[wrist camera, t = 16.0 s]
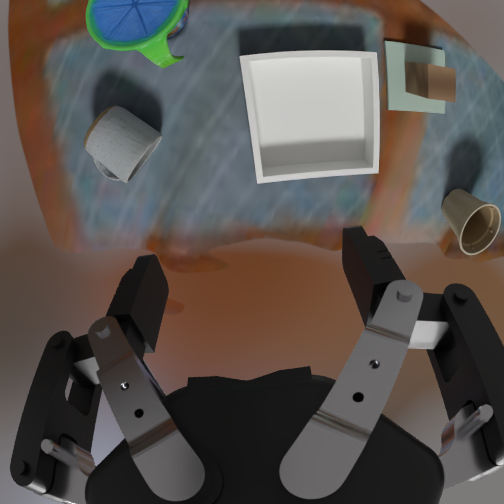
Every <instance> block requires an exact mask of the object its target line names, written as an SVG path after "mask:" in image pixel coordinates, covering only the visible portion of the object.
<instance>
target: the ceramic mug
mask: <svg viewBox="0 0 504 504" xmlns="http://www.w3.org/2000/svg"><path fill="white" fill-rule="evenodd" d="M161 139H162V134H161V133H159V132H158V131H156V130H155V129H154V128H152V127H151V126H149V125H148V124H146V123H145V122H144V121H142V120H141V119H139V118H138V117H136V116H135V115H133V114H132V113H130V112H129V111H128V110H126V109H124V108H122V107H120V106H116V105H115V106H111V107H109V108H107V109H105V110H104V111H103V112H102V113H101V114H100V115H99V116H98V117H97V118H96V119H95V121H94V122H93V123H92V125H91V126H90V128H89V130H88V132H87V134H86V137H85V140H84V146H85V149H86V150H87V151H88V152H89V154H90V155H91V156H93V157H94V162H95V164H96V166H97V168H98V169H99V170H100V172H101V173H102V174H104V175H105V176H106V177H107V178H109V179H112V180H122V181H123V182H125V183H128V182H129V181H130V180H131V179H132V178H133V177H134V175H135V174H136V173H137V172H138V171H139V169H140V168H141V167H142V166H143V164H144V163H145V162H146V161H147V159H148V158H149V156H150V155H151V154H152V153H153V151H154V150H155V148H156V147H157V145H158V144H159V142H160V141H161Z"/></svg>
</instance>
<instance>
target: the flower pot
mask: <svg viewBox="0 0 504 504" xmlns="http://www.w3.org/2000/svg"><path fill="white" fill-rule="evenodd" d="M442 214H443V216H444V218H445V219H446V220H447V222H448V223H449V225H450V226H451V228H452V229H453V231H454V232H455V234H456V235H457V238H458V241H459V244H460V248H461V250H462V251H463V252H464V253H465V254H467V255H475V254H477V253H480V252H482V251H483V250H484V249H486V248H487V247H488V246H489V245H490V244H491V243H492V241H493V240H494V238H495V237H496V235H497V233H498V231H499V228H500V223H501V214H500V211H499V209H498V207H497V206H496V205H494V204H491V203H487V202H483V201H481V200H479V199H478V198H476V197H474V196H473V195H471V194H469V193H468V192H466V191H464V190H462V189H454V190H452V191H451V192H450V194H449V195H448V196H447V197H445V199H444V201H443V204H442Z"/></svg>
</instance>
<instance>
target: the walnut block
mask: <svg viewBox="0 0 504 504" xmlns="http://www.w3.org/2000/svg"><path fill="white" fill-rule="evenodd" d="M404 63H405V90H406V92H407V93H411V94H414V95H418V96H421V97H424V98H427V99H434V100H443V101H450V102H455V93H456V78H455V69H452V68H447V67H442V66H437V65H431V64H424V63H415V62H404Z"/></svg>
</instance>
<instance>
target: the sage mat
mask: <svg viewBox="0 0 504 504" xmlns="http://www.w3.org/2000/svg"><path fill="white" fill-rule="evenodd" d="M384 51H385V65H386V84H387V109H388V110H403V111H419V112H432V113H442V114H445V101H443V100H434V99H427V98H424V97H421V96H418V95H414V94H411V93H407V92H406V90H405V63H404V62H415V63H424V64H431V65H437V66H442V67H445V56H444V50H439V49H434V48H429V47H424V46H418V45H412V44H406V43H399V42H391V41H384Z"/></svg>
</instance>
